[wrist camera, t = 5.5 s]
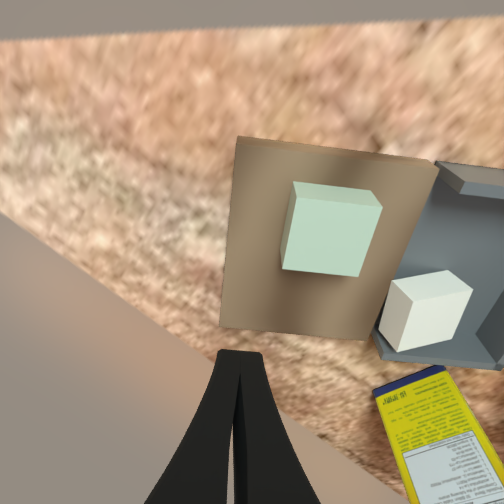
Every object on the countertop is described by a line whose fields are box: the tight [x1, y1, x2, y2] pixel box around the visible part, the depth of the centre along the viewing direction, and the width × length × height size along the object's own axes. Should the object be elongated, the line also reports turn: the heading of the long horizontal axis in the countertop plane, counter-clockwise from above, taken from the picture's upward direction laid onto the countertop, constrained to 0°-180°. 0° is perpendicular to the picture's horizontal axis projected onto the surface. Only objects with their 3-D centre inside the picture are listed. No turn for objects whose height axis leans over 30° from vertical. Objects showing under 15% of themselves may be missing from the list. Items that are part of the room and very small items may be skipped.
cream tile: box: [379, 270, 473, 352], centre depth 21 cm, size 4×4×2 cm
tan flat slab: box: [219, 136, 440, 341], centre depth 20 cm, size 10×12×2 cm
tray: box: [371, 161, 504, 371], centre depth 20 cm, size 8×12×3 cm, turn 173°
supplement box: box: [373, 365, 504, 504], centre depth 24 cm, size 6×6×11 cm
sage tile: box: [280, 181, 383, 277], centre depth 18 cm, size 4×4×2 cm
